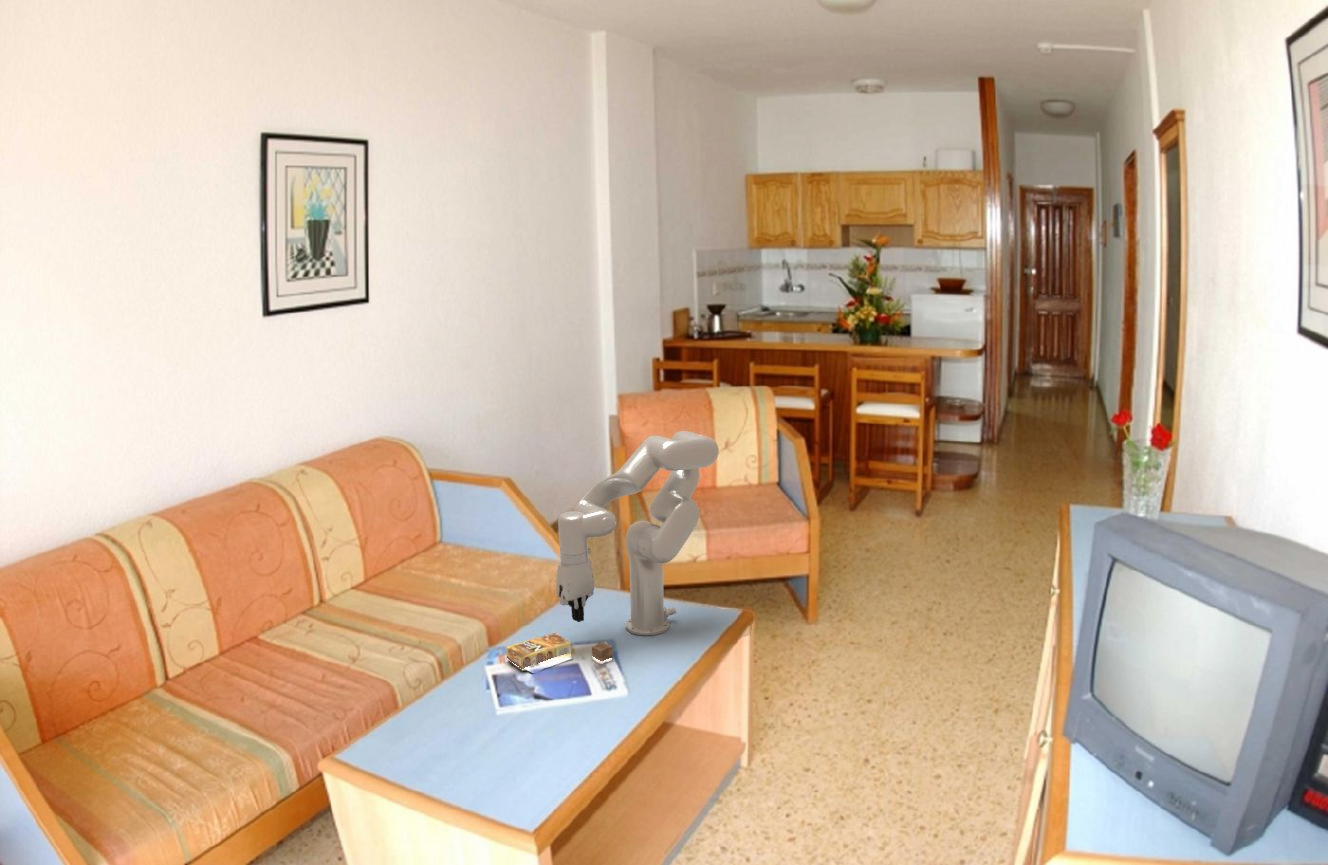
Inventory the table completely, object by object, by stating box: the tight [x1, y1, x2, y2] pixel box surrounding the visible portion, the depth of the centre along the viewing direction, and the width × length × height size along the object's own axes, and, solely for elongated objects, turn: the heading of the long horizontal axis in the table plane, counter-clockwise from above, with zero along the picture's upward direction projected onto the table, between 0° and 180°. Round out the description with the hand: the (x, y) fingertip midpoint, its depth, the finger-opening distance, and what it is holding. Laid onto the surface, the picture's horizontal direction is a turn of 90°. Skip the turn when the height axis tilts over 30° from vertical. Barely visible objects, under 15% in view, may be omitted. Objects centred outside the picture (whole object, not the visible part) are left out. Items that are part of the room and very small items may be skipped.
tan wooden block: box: [591, 641, 614, 661], centre depth 271 cm, size 4×4×4 cm
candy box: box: [505, 632, 572, 669], centre depth 271 cm, size 9×4×15 cm
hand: (578, 619), depth 278 cm, fingers closed
